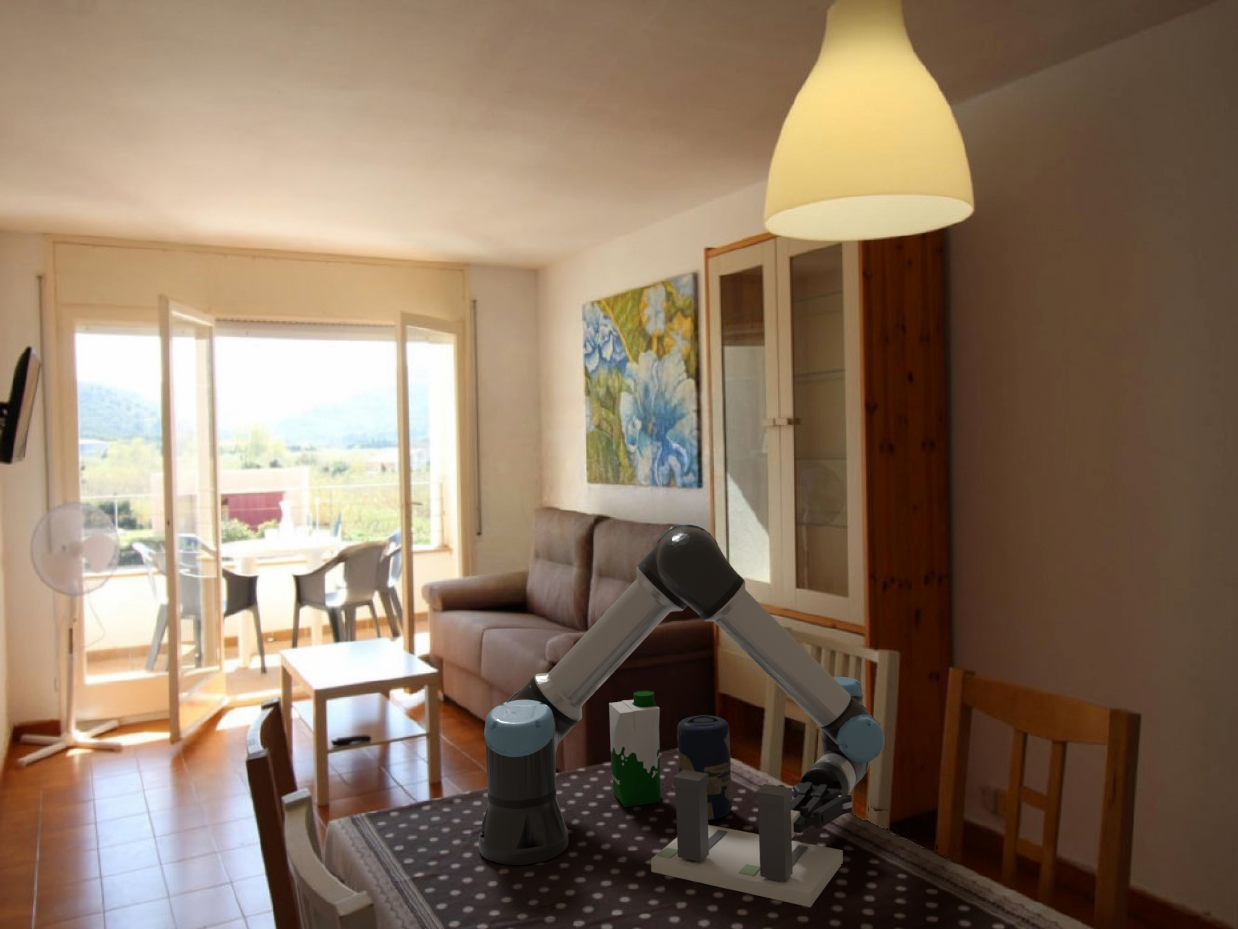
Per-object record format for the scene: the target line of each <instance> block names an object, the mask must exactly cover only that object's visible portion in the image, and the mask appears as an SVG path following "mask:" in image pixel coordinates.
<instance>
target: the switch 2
mask: <svg viewBox="0 0 1238 929" xmlns="http://www.w3.org/2000/svg"><path fill="white" fill-rule="evenodd" d="M787 787H788V786H787ZM787 787H786V786H785V787H781V786H778V785H774V784H767V783H764V784H762V785H761V786H760V787H759V788H758V789H757V790H756V791H755V802H756V803H757V810H758V811H757V813H758V816H757V817H758V818H757V819H758V834H759V851H760V876H762V877H767V878H771V879H776V880H781V881H785V882H786V881H787V880H788V878H789V877H790V876H791V875H792V873H793V866H792V841H793V840H792V839H793V838H792V833H791V802H792V801H793V796H792V789H793V787H788V788H787Z"/></svg>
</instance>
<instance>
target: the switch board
mask: <svg viewBox="0 0 1238 929" xmlns="http://www.w3.org/2000/svg"><path fill="white" fill-rule="evenodd" d="M708 838H709V855H708V856H707V857H706V858H705V859H704V860H702V861H701V862H699V861H694V860H689V859H685V858H680V857H678V846H677V837H676V838H675V839H673V840H671V841H670V843H668V844H667V845H666V846H665V847H664V848H662V849H661V850H660V851H659V852H657V853H656V854H655V855H654V856H653V857H651V859H650V865H651V866H650V867H651V871H650V872H651V873H655V874H660V875H664V876H670V877H674V878H679V879H683V880H687V881H692V882H696V883H701V884H705V885H710V886H715V887H718V888H723V889H727V890H731V891H732V890H733V891H737V892H741V893H746V894H750V895H755V896H760V897H764V898H769V899H771V900H772V899H773V900H777V901H781V902H786V903H789V904H790V903H791V904H793V905H794V904H795V905H799V906H804V907H808V908H811V907H812V906H813V905H814V903H815V901H816V900H817V899H818V898H819V896H820V895H821V893H822V892H823V890H824V889H825V888H826V887H827V885H828V884H829V882H830V881H831V880H832V879H833V877H834V875H835V874H836V873H837V871H839V869H840V867H841V866H842V865H843V863H844V858H843V857H844V856H843V854H844V852H843V851H844V850H842V849H837V848H833V847H827V846H823V845H816V844H812V843H811V844H810V843H806V842H802V841H801V842H800V841H797V840H796V841H795V840H792V866H793V873H792V875H791V876H790V877H789V878H788V880H787V881H786V882H785V881H781V880H776V879H771V878H767V877H762V876H760V851H759V833H758V834H757V833H754V832H747V831H742V830H738V829H732V828H726V827H722V826H716V825H710V824H708ZM841 864H842V865H841Z"/></svg>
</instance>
